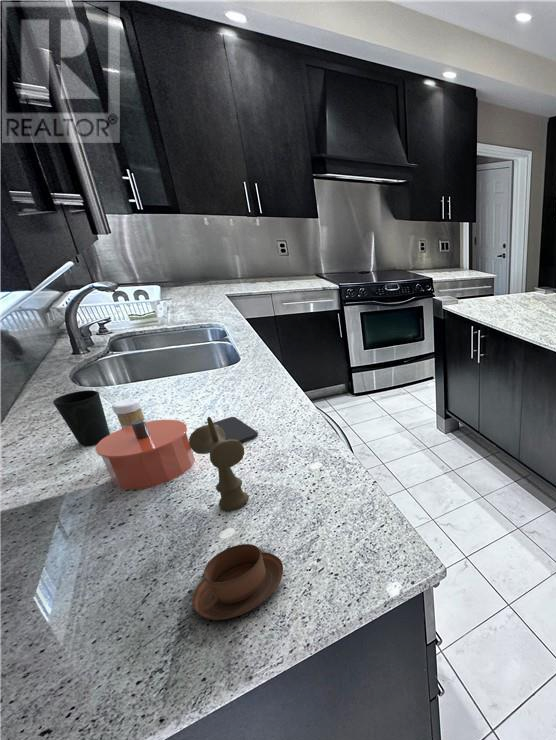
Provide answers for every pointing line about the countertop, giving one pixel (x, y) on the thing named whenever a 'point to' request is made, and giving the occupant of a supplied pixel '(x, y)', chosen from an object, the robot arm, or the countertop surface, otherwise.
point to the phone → (236, 429)
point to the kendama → (221, 462)
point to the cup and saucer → (236, 582)
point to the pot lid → (141, 438)
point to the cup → (84, 416)
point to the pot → (151, 466)
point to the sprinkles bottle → (128, 411)
